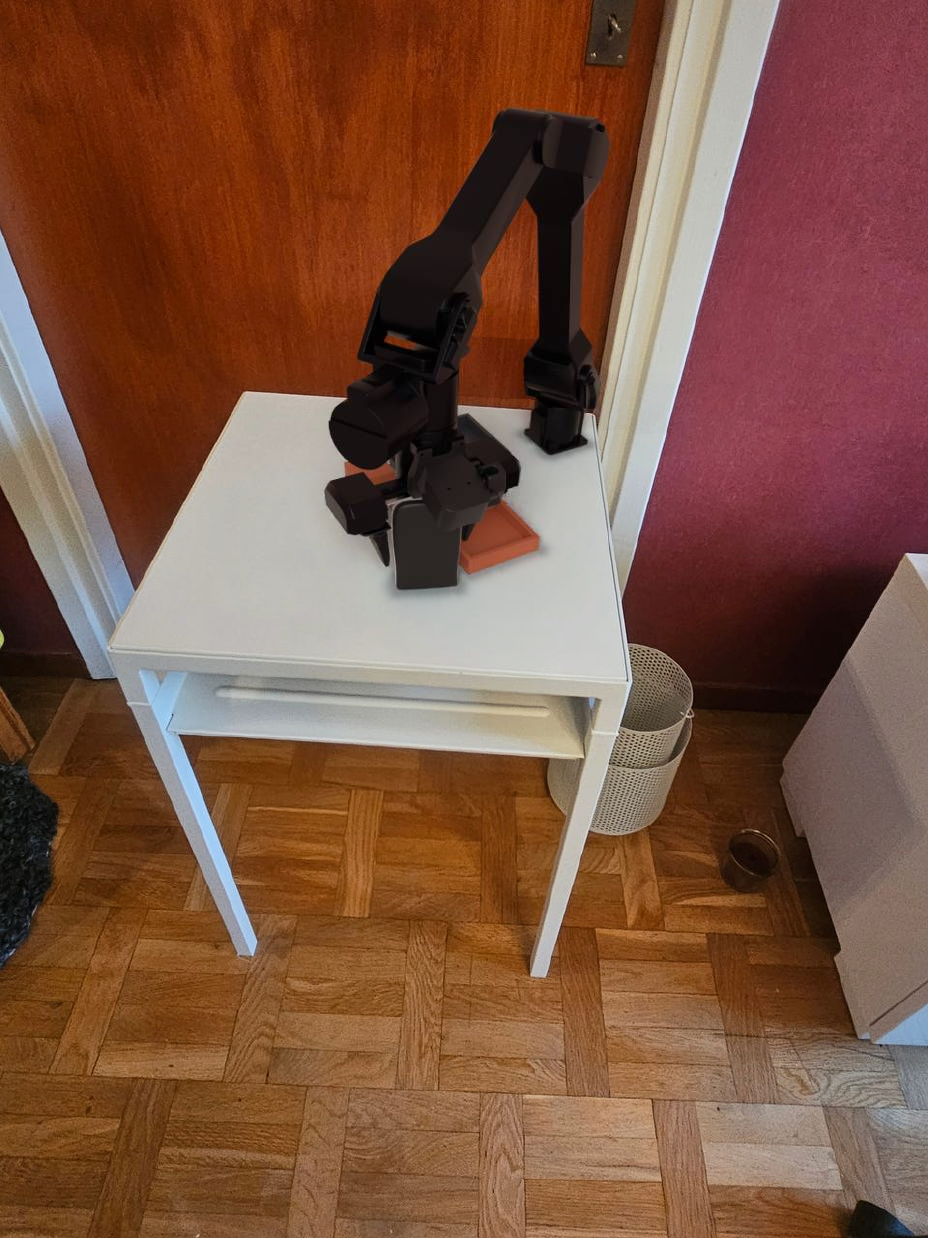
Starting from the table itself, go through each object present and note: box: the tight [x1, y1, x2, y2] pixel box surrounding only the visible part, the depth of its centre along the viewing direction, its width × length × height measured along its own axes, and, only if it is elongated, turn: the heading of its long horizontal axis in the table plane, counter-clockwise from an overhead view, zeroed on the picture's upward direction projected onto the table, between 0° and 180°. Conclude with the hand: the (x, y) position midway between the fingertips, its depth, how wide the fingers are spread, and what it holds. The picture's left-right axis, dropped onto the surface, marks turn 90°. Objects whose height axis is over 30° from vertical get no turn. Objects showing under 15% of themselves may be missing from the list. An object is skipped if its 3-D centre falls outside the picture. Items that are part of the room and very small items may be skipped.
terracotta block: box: [343, 460, 396, 485], centre depth 89 cm, size 4×4×4 cm
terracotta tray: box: [458, 498, 541, 575], centre depth 85 cm, size 9×9×2 cm
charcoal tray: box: [457, 412, 513, 455], centre depth 97 cm, size 10×11×2 cm
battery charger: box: [390, 497, 461, 591], centre depth 76 cm, size 7×4×11 cm, turn 98°
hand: (425, 551), depth 78 cm, fingers open, 9 cm apart
